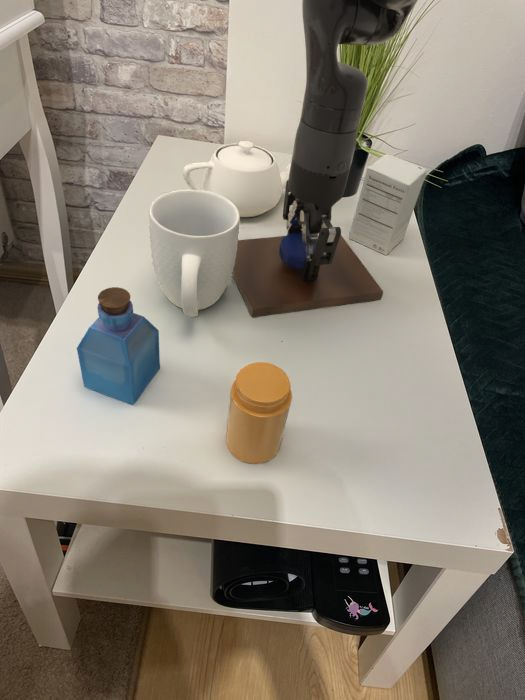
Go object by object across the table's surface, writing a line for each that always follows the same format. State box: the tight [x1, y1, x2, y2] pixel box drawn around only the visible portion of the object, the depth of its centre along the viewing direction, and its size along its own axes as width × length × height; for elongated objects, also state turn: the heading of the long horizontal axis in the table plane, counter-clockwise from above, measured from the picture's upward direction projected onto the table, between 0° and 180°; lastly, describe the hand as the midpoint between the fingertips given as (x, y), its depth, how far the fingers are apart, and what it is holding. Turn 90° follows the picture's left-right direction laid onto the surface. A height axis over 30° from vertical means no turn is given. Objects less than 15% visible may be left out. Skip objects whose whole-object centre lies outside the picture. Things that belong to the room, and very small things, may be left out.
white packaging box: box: [348, 153, 428, 256], centre depth 84 cm, size 7×7×13 cm
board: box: [231, 233, 384, 318], centre depth 78 cm, size 20×16×2 cm
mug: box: [148, 188, 241, 318], centre depth 66 cm, size 15×11×13 cm
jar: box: [224, 361, 293, 465], centre depth 53 cm, size 6×6×10 cm
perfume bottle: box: [76, 286, 161, 406], centre depth 56 cm, size 6×6×12 cm
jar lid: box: [279, 232, 317, 269], centre depth 76 cm, size 7×7×2 cm
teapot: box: [182, 140, 291, 218], centre depth 88 cm, size 22×14×11 cm, turn 109°
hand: (300, 265), depth 78 cm, fingers closed on jar lid, 6 cm apart
